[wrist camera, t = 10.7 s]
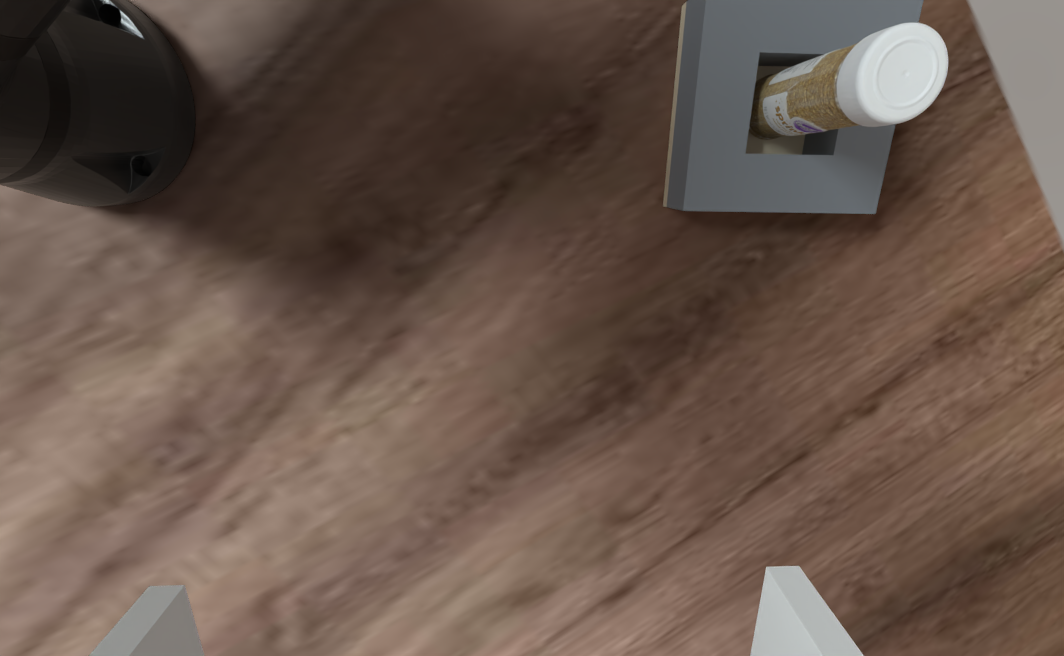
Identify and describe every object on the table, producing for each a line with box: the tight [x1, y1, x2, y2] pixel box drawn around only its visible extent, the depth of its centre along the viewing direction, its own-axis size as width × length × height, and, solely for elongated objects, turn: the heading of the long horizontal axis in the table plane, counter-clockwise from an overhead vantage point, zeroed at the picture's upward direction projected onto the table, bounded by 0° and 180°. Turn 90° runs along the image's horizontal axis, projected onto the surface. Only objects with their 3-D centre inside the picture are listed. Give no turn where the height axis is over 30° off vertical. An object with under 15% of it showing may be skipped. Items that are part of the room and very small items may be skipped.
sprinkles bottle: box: [749, 23, 948, 140], centre depth 30 cm, size 5×5×13 cm
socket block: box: [663, 0, 923, 214], centre depth 35 cm, size 14×14×5 cm
